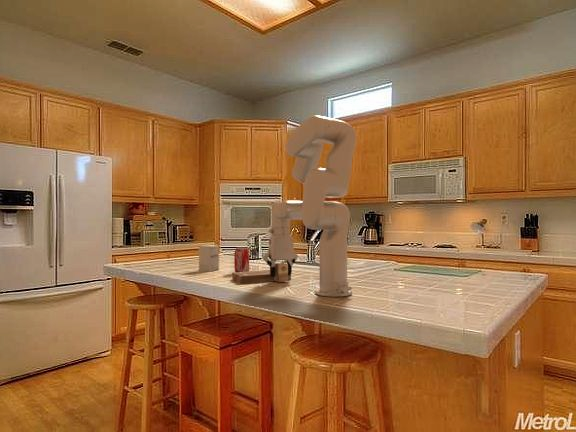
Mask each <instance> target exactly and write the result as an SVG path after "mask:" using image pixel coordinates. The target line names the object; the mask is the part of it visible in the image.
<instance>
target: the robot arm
mask: <svg viewBox="0 0 576 432" xmlns="http://www.w3.org/2000/svg"><path fill="white" fill-rule="evenodd" d="M324 144H329V145H332V147H331V149H330V150H329V152H328V153H327V155H326V157H327V158H326V164H325V168H322V167H318V166H319V163H320V160H321V156H322V153H323V150H324ZM356 144H357V133H356V130H355V128H354V127H353V126H352V125H351V124H350V123H348V122H346V121H343V120H339V119H336V118H331V117H326V116H321V115H311V116H309V117H308V118H306V119H305V120H304V121H303V122H302V123H301V124H300V125H299V126H297V128H295V129H294V130H293V131H292V133H291V134H290V135H289V137H288V138H287V140H286V143H285V151H286V154H287V155H289V156H290V157H293V158H295V162H294V165H293V167H292V168H293V169H292V172H291V176H292V178H293V179H295V180H296V181H297V182H299V183H301V184H302V185H303V197H302V199H301V200H283V201H275V202H272V204H271V207H270V208H271V227H270V229H268V233H269V234H271V235H269V242H268V249H267V252H266V253H265V254H264V256H263V257H262V259H263V261H264V262H265V263H266V264H267V265H268V266H269V270H270V275H271V276H272V277H275V267H274V265H275V263H277V261H286V264H288V275H289V276H291V277H292V271H293V268H292V267H293V266H294V263H295V262H296V260H298V258H299V255H298V254H297V253H296V252H295V247H294V239H293V235H291V220H292V221H296V220H297V221H298V220H301V221H302V223H303V225H304V227H306V229H308V230H312V231H313V230H316V231H319V230H322V233H321V235H320V238H319V246H318V249H319V253H318V255H319V256H318V257H319V258H318V259H319V262H318V263H319V265H318V266H319V288H318V287H317V288H316V289H314V293H315V294H316V295H318V296H321V297H330V298H331V297H332V298H335V297H338V298H339V297H348V296H351V295H352V294H353V290H352V289H353V287H352V286H349V281H348V232H349V225H350V219H351V213H350V212H351V211H350V210H349V208H348V206H347V205H346V204H344V203H343V202H340V201H331V200H330V201H328V200H326V198H329V199H330V198H333V199H335V198H336V199H337V198H342V197H345V196H346V195H347V194H348V191H349V189H350V182H351V181H350V180H351V174H352V165H353V164H352V163H353V156H354V153H355V149H356Z"/></svg>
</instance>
